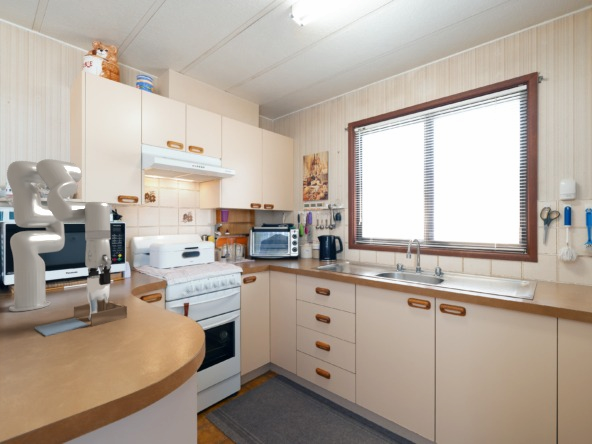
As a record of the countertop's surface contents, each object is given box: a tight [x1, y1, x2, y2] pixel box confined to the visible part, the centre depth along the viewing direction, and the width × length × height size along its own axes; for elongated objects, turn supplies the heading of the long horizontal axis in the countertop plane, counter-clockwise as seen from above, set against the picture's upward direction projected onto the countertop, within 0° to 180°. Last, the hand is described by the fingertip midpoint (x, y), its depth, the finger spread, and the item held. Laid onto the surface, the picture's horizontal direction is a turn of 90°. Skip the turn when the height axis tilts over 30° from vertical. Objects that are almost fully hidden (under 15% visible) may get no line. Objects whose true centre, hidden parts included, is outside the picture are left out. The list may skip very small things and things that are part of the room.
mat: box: [33, 317, 89, 337], centre depth 96 cm, size 12×11×1 cm
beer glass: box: [86, 274, 111, 321], centre depth 105 cm, size 7×7×15 cm
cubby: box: [73, 299, 128, 327], centre depth 106 cm, size 16×11×4 cm
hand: (99, 283), depth 105 cm, fingers open, 9 cm apart
